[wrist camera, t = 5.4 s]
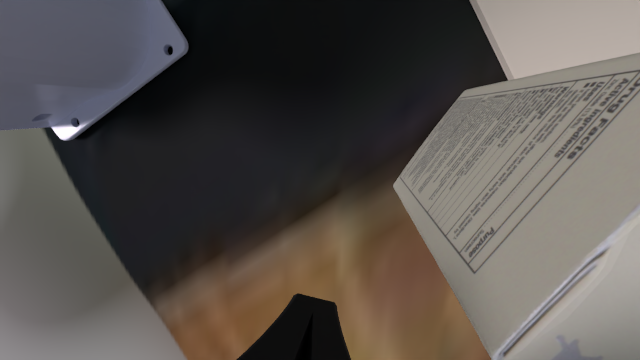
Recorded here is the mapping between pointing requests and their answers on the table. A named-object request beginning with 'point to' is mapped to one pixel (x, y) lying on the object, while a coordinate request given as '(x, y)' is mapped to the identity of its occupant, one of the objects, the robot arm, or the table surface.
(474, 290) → the skincare box
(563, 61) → the mat
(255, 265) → the table surface
